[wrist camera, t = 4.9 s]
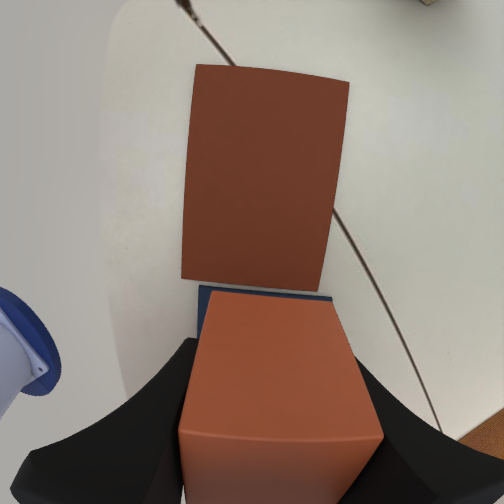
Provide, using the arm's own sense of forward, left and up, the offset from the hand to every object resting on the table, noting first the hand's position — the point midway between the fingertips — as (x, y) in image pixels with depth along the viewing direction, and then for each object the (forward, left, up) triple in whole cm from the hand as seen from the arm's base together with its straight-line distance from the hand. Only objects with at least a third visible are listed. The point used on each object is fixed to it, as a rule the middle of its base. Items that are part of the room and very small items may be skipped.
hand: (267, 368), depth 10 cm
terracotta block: (0, 0, -1) cm, 1 cm away
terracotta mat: (+3, +4, -9) cm, 10 cm away
